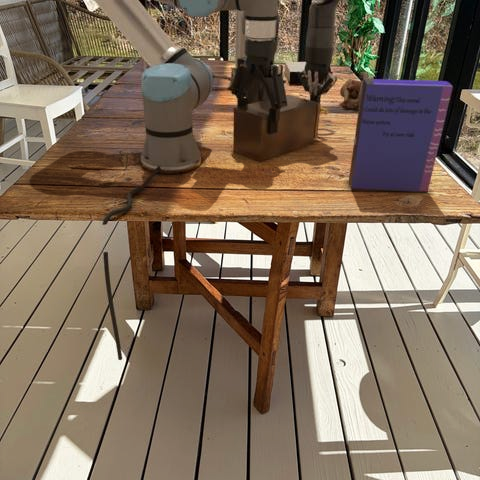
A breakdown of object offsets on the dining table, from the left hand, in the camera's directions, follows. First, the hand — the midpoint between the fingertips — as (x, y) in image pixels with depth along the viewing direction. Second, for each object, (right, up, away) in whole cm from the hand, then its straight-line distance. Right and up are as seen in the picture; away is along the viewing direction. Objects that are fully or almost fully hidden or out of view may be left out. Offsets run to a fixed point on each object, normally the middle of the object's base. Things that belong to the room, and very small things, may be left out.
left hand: (257, 127), depth 127 cm
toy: (-32, +45, +87) cm, 103 cm away
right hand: (+17, +9, +13) cm, 23 cm away
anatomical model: (+36, +19, +47) cm, 62 cm away
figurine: (-2, +31, +65) cm, 73 cm away
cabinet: (+5, -4, +8) cm, 10 cm away
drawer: (+9, -1, +11) cm, 14 cm away
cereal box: (+30, -17, -14) cm, 38 cm away
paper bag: (+2, +47, +91) cm, 102 cm away
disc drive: (+25, +41, +82) cm, 94 cm away
